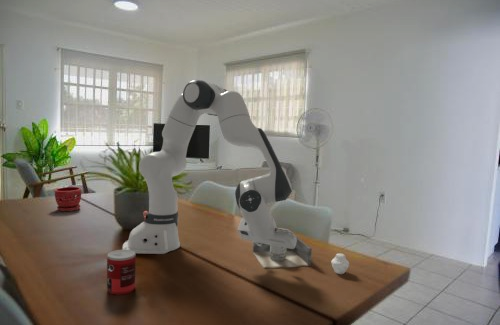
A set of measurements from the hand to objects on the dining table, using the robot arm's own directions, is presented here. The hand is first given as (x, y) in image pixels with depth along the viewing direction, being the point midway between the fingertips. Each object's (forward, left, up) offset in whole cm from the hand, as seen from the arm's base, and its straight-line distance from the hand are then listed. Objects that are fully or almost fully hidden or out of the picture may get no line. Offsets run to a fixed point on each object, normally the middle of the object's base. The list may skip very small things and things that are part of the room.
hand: (272, 246), depth 126 cm
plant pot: (-90, +93, -7) cm, 129 cm away
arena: (+5, +6, -7) cm, 11 cm away
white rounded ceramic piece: (+22, -9, -7) cm, 25 cm away
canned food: (-51, -11, -7) cm, 52 cm away
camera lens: (+4, +5, -7) cm, 9 cm away
